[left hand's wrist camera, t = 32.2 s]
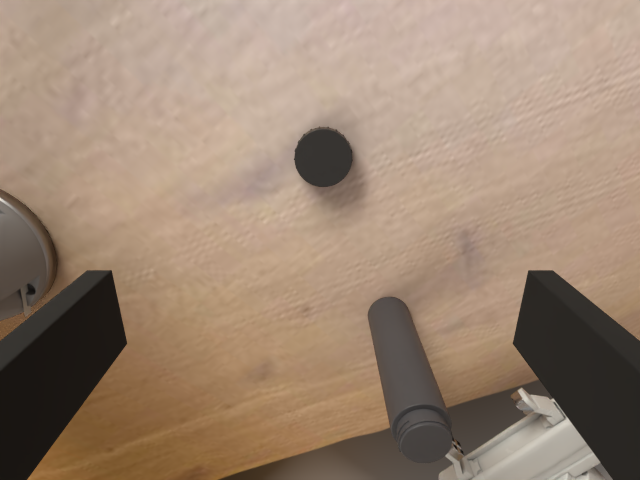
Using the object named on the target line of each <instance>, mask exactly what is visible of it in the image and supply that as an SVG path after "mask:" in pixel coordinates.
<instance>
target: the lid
mask: <svg viewBox="0 0 640 480" xmlns="http://www.w3.org/2000/svg"><path fill="white" fill-rule="evenodd" d="M294 160H295V165H296V169H297V171H298V172H299V174H300V176H301V177H302V178H303V179H304V180H305V181H307V182H308V183H310V184H312V185H315V186H319V187H328V186H332V185H335V184H337V183H338V182H340V181H341V180H342V179H344V177H345V176H346V175H347V174H348V172H349V170H350V167H351V164H352V150H351V149H350V146H349V142H347V140H346V139H345V137H344V135H342V134H341V133H339V132H338V131H337V130H334V129H332V128H329V127H319V128H315V129H311V130H310V131H309V132H307V133H306V134H304V135H303V137H302V138H301V139H300V141H298V145H297V148H296V149H295V158H294Z"/></svg>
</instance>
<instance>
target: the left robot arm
mask: <svg viewBox="0 0 640 480" xmlns="http://www.w3.org/2000/svg"><path fill="white" fill-rule="evenodd" d="M56 267H57V265H56V254H55V250H54V247H53V244H52V241H51V239H50V237H49V235H48V233H47V231H46V229H45V228H44V226H43V225H42V223H41V222H40V221H39V219H38V218H37V217H36V216H35V215H34V214H33V213H32V212H31V211H30V210H29V209H28V208H27V207H26V206H25V205H24V204H23V203H21V202H20V201H19V200H17V199H16V198H14V197H13V196H11V195H10V194H8V193H6V192H4V191H2V190H0V321H1V320H4V319H7V318H10V317H13V316H15V315H18V314H20V313H22V312H24V313H25V317H26V316H28V315H29V314H30V313H31V307H32V306H33V305H34V304H36V303H37V302H38V301H40V300H41V299H42V298H43V297H44V296H45V295H46V294H47V293H48V291H49V290H50V288H51V286H52V284H53V282H54V279H55V275H56ZM126 344H127V341H126V336H125V331H124V327H123V322H122V317H121V312H120V308H119V303H118V298H117V294H116V289H115V284H114V280H113V275H112V271H86V272H85V273H84V274H82V275H81V276H80V277H79V278H77V279H76V280H75V281H74V282H72V283H71V284H70V285H69V286H68V287H66V288H65V289H64V290H63V291H61V292H60V293H59V294H58V295H56V296H55V297H54V298H53V299H51V300H50V301H49V302H48V303H47V304H45V305H44V306H43V307H42V308H40V309H39V310H38V311H37V312H35V313H34V314H33V315H32V316H31V317H29V318H28V319H27V320H26V321H24V322H23V323H22V324H21V325H19V326H18V327H17V328H16V329H14V330H13V331H12V332H11V333H10V334H8V335H7V336H6V337H5V338H3V339H2V340H1V341H0V480H27V479H28V477H29V476H30V475H31V473H32V472H33V471H34V469H35V468H36V467H37V465H38V464H39V463H40V461H41V460H42V458H43V457H44V456H45V454H46V453H47V452H48V450H49V449H50V448H51V446H52V445H53V444H54V442H55V441H56V439H57V438H58V437H59V435H60V434H61V433H62V431H63V430H64V429H65V427H66V426H67V425H68V423H69V422H70V420H71V419H72V418H73V416H74V415H75V414H76V412H77V411H78V410H79V408H80V407H81V406H82V404H83V403H84V401H85V400H86V399H87V397H88V396H89V395H90V393H91V392H92V391H93V389H94V388H95V386H96V385H97V384H98V382H99V381H100V380H101V378H102V377H103V376H104V374H105V373H106V372H107V370H108V369H109V367H110V366H111V365H112V363H113V362H114V361H115V359H116V358H117V357H118V355H119V354H120V353H121V351H122V350H123V348H124V347H125V346H126ZM513 344H514V346H515V347H516V348H517V350H518V351H519V353H520V354H521V355H522V357H523V358H524V359H525V361H526V362H527V363H528V365H529V366H530V367H531V369H532V370H533V372H534V373H535V374H536V376H537V377H538V378H539V380H540V381H541V382H542V384H543V385H544V386H545V388H546V389H547V391H548V392H549V393H550V395H551V396H552V397H553V399H554V400H555V401H556V403H557V404H558V406H559V407H560V408H561V410H562V411H563V412H564V414H565V415H566V416H567V418H568V419H569V420H570V422H571V423H572V425H573V426H574V427H575V429H576V430H577V431H578V433H579V434H580V435H581V437H582V438H583V439H584V441H585V442H586V444H587V445H588V446H589V448H590V449H591V450H592V452H593V453H594V454H595V456H596V457H597V458H598V460H599V461H600V463H601V464H602V465H603V466H604V468H605V469H606V471H607V472H608V473H609V475H610V476H611V477H612V479H613V480H640V341H639V340H638V339H637V338H635V337H634V336H633V335H632V334H630V333H629V332H628V331H627V330H626V329H624V328H623V327H622V326H621V325H619V324H618V323H617V322H616V321H614V320H613V319H612V318H611V317H609V316H608V315H607V314H606V313H605V312H603V311H602V310H601V309H600V308H598V307H597V306H596V305H595V304H593V303H592V302H591V301H590V300H589V299H587V298H586V297H585V296H584V295H582V294H581V293H580V292H579V291H577V290H576V289H575V288H574V287H572V286H571V285H570V284H569V283H568V282H566V281H565V280H564V279H563V278H561V277H560V276H559V275H558V274H556V273H555V272H554V271H528V275H527V280H526V284H525V289H524V294H523V298H522V303H521V308H520V312H519V317H518V322H517V327H516V331H515V336H514V341H513Z"/></svg>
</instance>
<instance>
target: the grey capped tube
mask: <svg viewBox="0 0 640 480" xmlns="http://www.w3.org/2000/svg"><path fill="white" fill-rule="evenodd" d="M368 320H369V325H370V330H371V335H372V340H373V345H374V350H375V355H376V360H377V364H378V369H379V374H380V379H381V384H382V389H383V394H384V399H385V404H386V409H387V414H388V419H389V423H390V428H391V433H392V436H393V437H394V439H395V440H396V441H397V442H398V447H399V450H400V452H402V453H403V455H404V456H405V457H406V458H408V459H409V460H411V461H414V462H417V463H430V462H435V461H437V460H439V459H441V458H443V457H444V456H445V455H446V454H447V453H448V452H449V451H450V449H451V447H452V437H453V436H452V432H451V419H450V416H449V413H448V411H447V408H446V406H445V403H444V400H443V398H442V395H441V393H440V390H439V387H438V385H437V382H436V380H435V377H434V375H433V372H432V369H431V367H430V364H429V362H428V359H427V357H426V354H425V351H424V349H423V346H422V344H421V341H420V338H419V336H418V333H417V331H416V328H415V326H414V323H413V320H412V318H411V315H410V313H409V310H408V308H407V306H406V304H405V303H404V302H403V301H401V300H400V299H397V298H394V297H385V298H381V299H379V300H377V301H376V302H374V303H373V304H372V306H371V307H370V309H369V312H368Z"/></svg>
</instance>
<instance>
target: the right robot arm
mask: <svg viewBox="0 0 640 480" xmlns="http://www.w3.org/2000/svg"><path fill="white" fill-rule="evenodd" d="M510 397H511V398H512V399H513V400H514V403H515V405H516V406H517V407H518V408H519V409H520V410H522V412H523V413H524V414H525V415H526V416H525V417H524V418H522V419H521V420H519V421H518V422H516V423H515V424H513V425H512V426H510V427H509V428H507V429H506V430H504V431H503V432H501V433H500V434H498V435H497V436H495V437H494V438H492V439H490V440H489V441H487V442H486V443H484V444H483V445H481V446H480V447H478V448H477V449H475V450H474V451H472V452H471V453H469V454H468V455H466V456H464V453H463V451H462V450H461V445H460V443H459V442H458V441H457V440H454V438H453V437H452V447H451V449H450V451H449V452H448V453H447V454H446V455H445V456H446V457H447V458H448V459H449V460H451V461H452V464H453V465H451V466H450V467H448V468H447V469H445V470H443V471H442V472H440V474H439V480H606V479H605V478H604V477H603V475H602V474H601V473H600V472H599V471H598V470H597V469H596V468H595V467H594V466H596V465H598V464H599V463H600V461H599V460H598V458H597V457H596V456H595V454H594V453H593V452H592V450H591V449H590V448H589V446H588V445H587V444H586V442H585V441H584V439H583V438H582V437H581V435H580V434H579V433H578V431H577V430H576V429H575V427H574V426H573V425H572V423H571V422H570V420H569V419H568V418H567V416H566V415H565V414H564V412H563V411H562V410H561V408H560V407H559V406H558V404H557V403H556V401H555V400H554V399H551V400H550V399H549V398H548V397H544V396H537V395H529V394H528V393H527V392H526V391H525V390H524V389H523V388H520V389H519V390H517V391H516V392H514V393H513V394H512V395H510Z"/></svg>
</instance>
